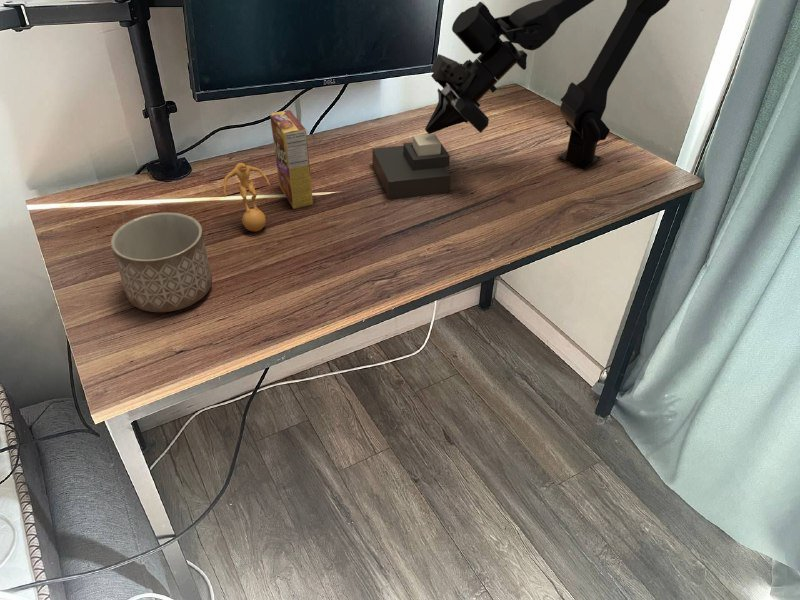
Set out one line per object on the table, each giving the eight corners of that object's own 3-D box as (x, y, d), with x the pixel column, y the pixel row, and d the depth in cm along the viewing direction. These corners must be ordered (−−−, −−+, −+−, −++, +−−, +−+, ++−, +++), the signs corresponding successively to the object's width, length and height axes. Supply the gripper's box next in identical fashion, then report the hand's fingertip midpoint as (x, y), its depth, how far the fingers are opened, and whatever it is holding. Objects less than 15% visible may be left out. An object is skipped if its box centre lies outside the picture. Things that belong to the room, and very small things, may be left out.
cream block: (433, 145, 130) (434, 133, 129) (440, 155, 127) (441, 143, 125) (412, 147, 129) (412, 135, 128) (418, 157, 126) (418, 145, 125)
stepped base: (432, 159, 138) (434, 132, 134) (453, 192, 127) (455, 164, 123) (372, 165, 135) (372, 138, 131) (388, 199, 125) (388, 171, 121)
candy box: (277, 187, 127) (268, 112, 118) (298, 183, 129) (292, 108, 119) (291, 210, 121) (283, 132, 112) (313, 205, 123) (307, 128, 113)
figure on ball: (236, 241, 113) (226, 179, 105) (224, 225, 117) (213, 163, 109) (281, 228, 116) (274, 167, 109) (268, 212, 120) (261, 152, 113)
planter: (179, 327, 96) (164, 269, 89) (110, 304, 99) (90, 247, 93) (229, 279, 105) (219, 223, 98) (164, 259, 108) (150, 205, 102)
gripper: (444, 24, 123) (386, 86, 128) (477, 58, 109) (411, 126, 114) (480, 63, 130) (424, 121, 134) (516, 100, 116) (452, 163, 121)
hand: (426, 131), depth 126 cm, fingers closed
